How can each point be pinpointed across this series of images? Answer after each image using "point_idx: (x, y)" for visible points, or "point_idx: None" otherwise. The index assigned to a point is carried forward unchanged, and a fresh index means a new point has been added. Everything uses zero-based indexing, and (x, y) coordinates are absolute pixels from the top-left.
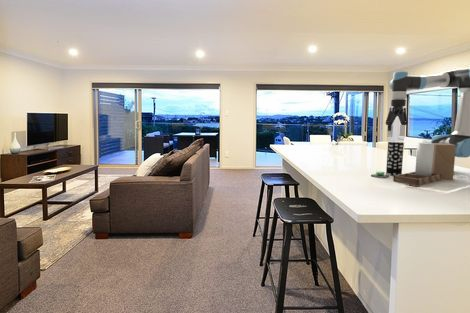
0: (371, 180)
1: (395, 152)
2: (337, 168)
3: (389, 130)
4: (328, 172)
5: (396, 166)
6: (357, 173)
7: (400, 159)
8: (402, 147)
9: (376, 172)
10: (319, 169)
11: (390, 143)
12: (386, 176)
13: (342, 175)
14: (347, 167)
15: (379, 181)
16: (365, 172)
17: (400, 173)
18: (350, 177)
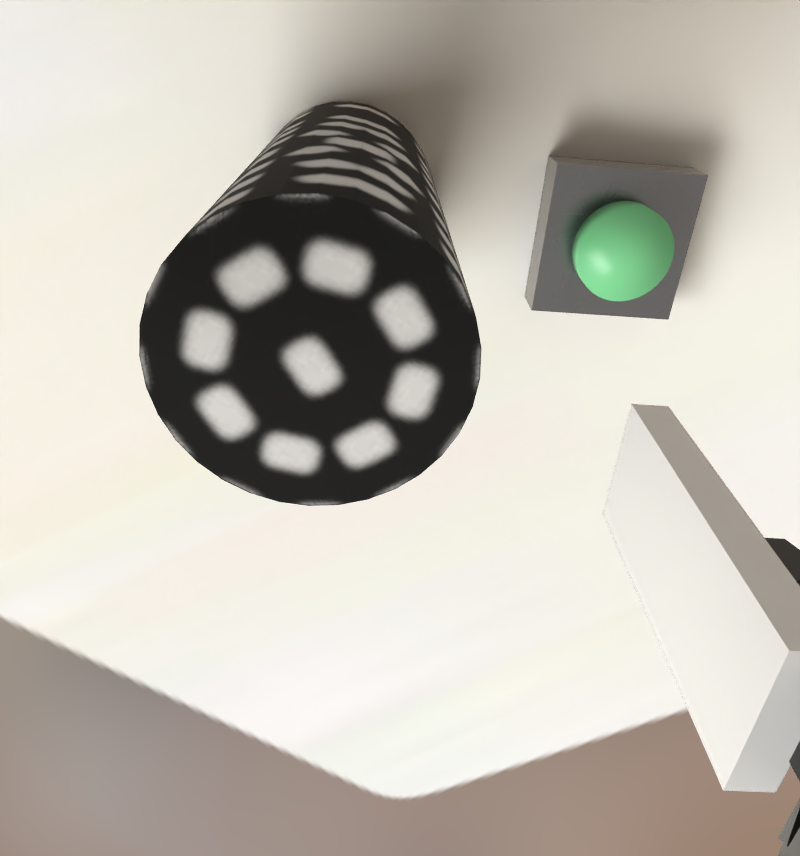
0: (785, 238)
1: (448, 235)
2: (360, 715)
3: (789, 561)
4: (617, 661)
5: (419, 159)
6: (475, 509)
7: (371, 141)
8: (328, 171)
9: (656, 282)
10: (528, 757)
11: (468, 402)
12: (619, 166)
13: None
14: (232, 700)
15: (794, 150)
16: None
17: (357, 108)
18: (744, 445)
